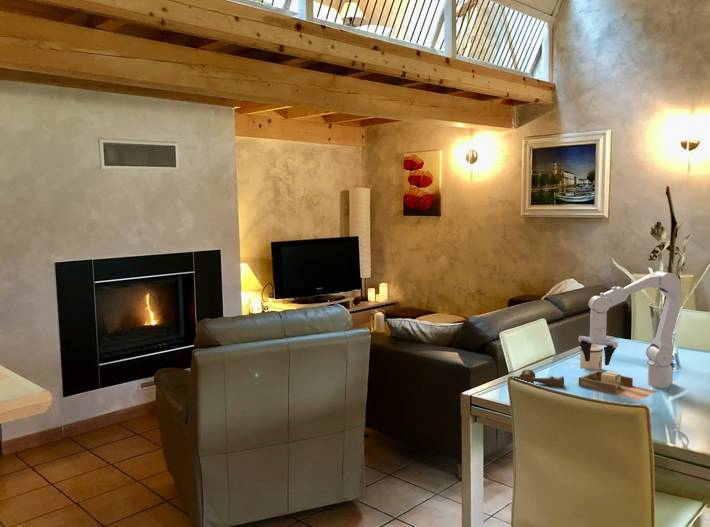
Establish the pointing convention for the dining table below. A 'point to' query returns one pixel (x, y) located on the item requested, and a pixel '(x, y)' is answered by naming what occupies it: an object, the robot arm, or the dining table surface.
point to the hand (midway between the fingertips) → (597, 362)
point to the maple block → (611, 378)
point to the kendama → (540, 379)
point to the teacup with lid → (592, 358)
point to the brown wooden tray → (614, 386)
